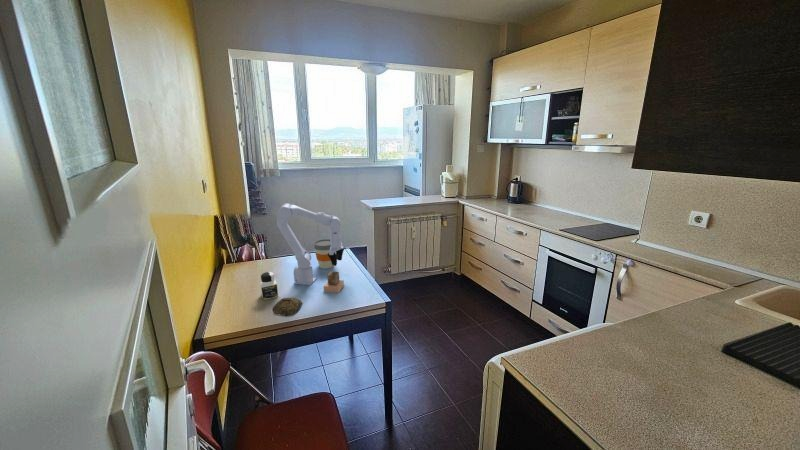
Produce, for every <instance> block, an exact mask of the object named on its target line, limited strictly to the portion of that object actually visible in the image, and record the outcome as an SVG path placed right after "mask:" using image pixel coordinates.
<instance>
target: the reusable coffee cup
mask: <svg viewBox="0 0 800 450" xmlns="http://www.w3.org/2000/svg"><path fill="white" fill-rule="evenodd" d="M330 247H331V243H330V238H329V239H325V238H324V239H319V240H316V241H315V242H314V250H315V257H316V261H317V262H318V267H319V269H331V268H333V267H334V266H333V265H332V262H331V260H330V258H329V256H328V253H329V251H330ZM335 253H336V252H335Z"/></svg>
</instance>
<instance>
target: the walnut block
mask: <svg viewBox="0 0 800 450" xmlns="http://www.w3.org/2000/svg"><path fill="white" fill-rule="evenodd" d="M339 280H340V272H339V271H330V272H329V273H328V274H327V282H328V285H337V284H338V283H339Z"/></svg>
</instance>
